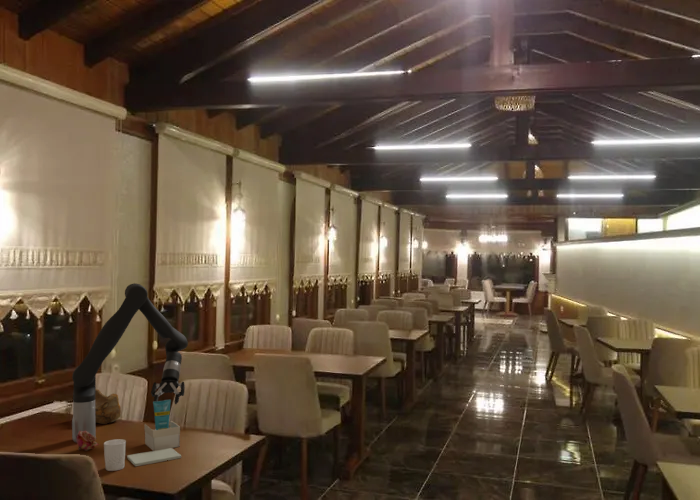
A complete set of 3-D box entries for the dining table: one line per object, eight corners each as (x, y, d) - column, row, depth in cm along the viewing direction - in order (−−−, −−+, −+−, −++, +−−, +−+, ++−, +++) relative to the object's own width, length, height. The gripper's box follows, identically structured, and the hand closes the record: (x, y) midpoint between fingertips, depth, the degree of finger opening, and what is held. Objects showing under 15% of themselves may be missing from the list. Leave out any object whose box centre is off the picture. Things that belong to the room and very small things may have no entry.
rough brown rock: (64, 425, 312) (62, 395, 311) (92, 414, 327) (90, 386, 326) (97, 431, 302) (95, 401, 300) (124, 420, 316) (123, 391, 315)
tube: (155, 448, 268) (154, 402, 269) (151, 445, 272) (151, 400, 273) (172, 445, 272) (172, 400, 273) (169, 442, 276) (168, 398, 277)
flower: (70, 450, 260) (82, 434, 261) (68, 440, 268) (80, 424, 269) (91, 460, 265) (102, 444, 266) (88, 450, 273) (100, 434, 274)
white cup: (107, 465, 246) (107, 439, 246) (128, 464, 247) (128, 438, 247) (101, 472, 238) (101, 445, 238) (122, 471, 239) (122, 444, 239)
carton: (153, 451, 263) (153, 430, 264) (144, 443, 275) (144, 424, 275) (180, 446, 270) (180, 426, 270) (170, 439, 281) (170, 420, 281)
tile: (135, 466, 244) (135, 463, 244) (127, 457, 255) (127, 455, 255) (181, 457, 254) (181, 455, 254) (171, 450, 265) (171, 447, 265)
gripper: (154, 368, 288) (147, 399, 276) (185, 367, 289) (180, 398, 277) (157, 378, 293) (151, 408, 282) (188, 377, 294) (183, 407, 282)
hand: (165, 403), depth 279 cm, fingers open, 8 cm apart
